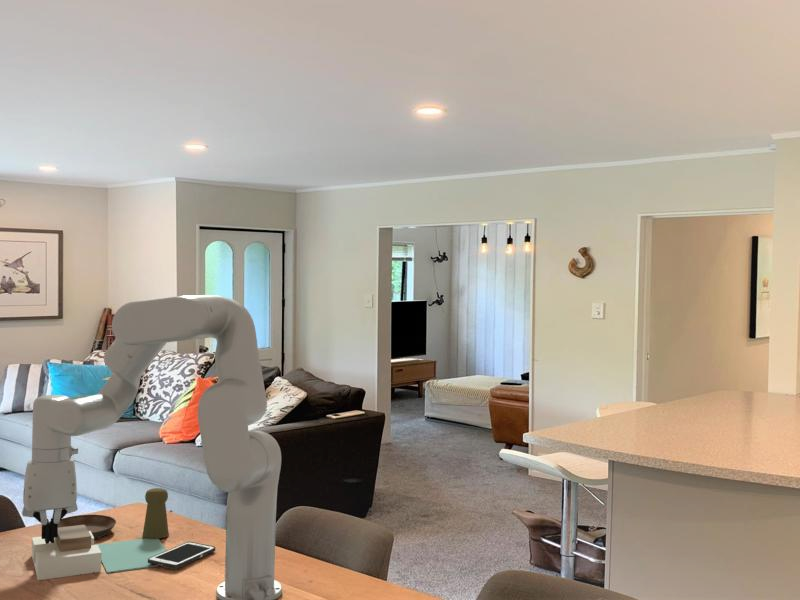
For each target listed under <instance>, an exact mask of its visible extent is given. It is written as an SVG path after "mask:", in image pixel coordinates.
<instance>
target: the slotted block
mask: <svg viewBox="0 0 800 600" xmlns="http://www.w3.org/2000/svg"><path fill="white" fill-rule="evenodd" d="M89 533H90V535H91V548H87V549H80V550H72V551H64V552H60V550H59V548H58V545H57V543H56V541H55V538H54V543H48V544H46V543H45V539H42V537H41V536H35V537H31V559H32V563H33V566H34V567H33V568H34V571H35V575H36V578H37V581H43V580H50V579H57V578H66V577H72V576H80V574H81V575H86V574H87V575H88V574H93V572H94V573H101V572H102V561H101V551H100V549H99V547H98V545H96V544H95V539H94V537H93V535H92V533H91V531H89Z"/></svg>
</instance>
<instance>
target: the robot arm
mask: <svg viewBox="0 0 800 600" xmlns="http://www.w3.org/2000/svg"><path fill="white" fill-rule="evenodd" d="M111 330H112V334H113V335H114V337H115V339H114V340H113V342H111V345H110V346H109V347H108V348H107V350H105V352H104V355H103V361H104V364H105V366H106V367H107V368H108V370H109V371H111V373H110V374H111V375H110V377H109V378H108V380H107V381H106V382H105V383H104V385H103V386H102V388H101V389H100V390H99V391H98V392H97V393H96V394H92V395H88V396H87V395H86V396H82V397H79V398H73V399H72V398H70V397H69V396H67V395H61V394H49V395H41V396H38V397H36V398H35V399H34V401H33V404H32V429H31V430H32V435H31V436H32V437H31V438H32V440H31V460H28V461H27V464H26V468H25V474H24V480H23V481H24V482H23V497H22V500H23V502H22V503H23V507H22V511H21V515H22V516H23V517H28V518H35V520H37V521H38V522H39V523H40V524H41V534H40V535H41V536H40V537H42V539H45V543H46V544H48V543H54V538H55V537H57V536H58V523H59V522H60V520H61V519H63V518H65V516H66V515H67V514H71V513H74V512H76V511H78V505H77V500H78V498H77V497H78V493H77V492H78V491H77V490H78V489H77V473H76V465H75V459H74V458H72V456H74V455H78V454H79V448H78V447H75V446H72V437H78V436H79V437H80V436H82V435H86V434H89V433H90V434H91V433H93V432H96V431H97V432H98V431H100V430H105V429H108V428H110V427H112V426H114V425H115V424H116V422H117V421H119V420H120V418H122V416H123V415H124V414H125V412H126V411H127V410H128V409H129V408H130V406H131V405H132V403H133V402H134V401H135V399H136V397H137V395H138V391H139V387H140V382H141V377H142V376H143V375H144V372H145V371H146V370H147V369H148V368H149V366H150V365H151V363H152V362H153V361H154V360H155V358H156V357H157V355H158V354H159V353H161V351H162V350H163V348H164V347H165V346H166V345H167V343H174V342H183V341H184V342H186V341H195V340H202V339H210V338H212V339H215V340H216V346H215V352H214V357H215V358H214V361H215V367H216V375H217V382H215V383H212V385H209V386H208V387H207V388H206V389H205V390H204V391H203V392H202V394H201V397H200V399H199V401H198V408H197V421H198V429H199V435H200V441H201V448H202V454H203V459H204V467H205V470H206V474H207V475H208V478H209V479H210V481H211V483H212V484H213V485H214V486H215V487H216V488H217V489H219V490H221V491H222V492H226V493H228V494H227V501H226V520H225V521H226V522H225V560H224V561H225V567H224V568H225V569H224V581H223V582H221V583H220V584H219V585H218V586H217V587H216V590H215V593H216V597H217V599H219V600H277V599H278V598H279V597H280V596H281V595H282V594H283V592H282V591H283V585H282V584H281V583H280V582H279V581H278V580H276V579H275V564H276V563H275V560H276V556H275V555H276V525H277V524H276V521H277V520H276V518H277V499H278V487H279V486H278V485H279V480H280V473H281V469H282V468H281V467H282V451H281V447H280V445H279V443H278V441H277V440H276V439H275V438H274V436H272V434H270V433H268V432H265V431H262V430H252V431H249V426H251V425H254V424H255V423H257V422H259V421H260V420H261V419H263V417H264V416H265V414H266V412H267V408H268V407H267V406H268V404H267V401H268V400H267V396H266V395H267V394H266V393H267V392H266V389H265V384H264V383H265V382H264V377H263V371H262V369H263V368H262V363H261V360H260V354H259V347H258V340H257V339H258V338H257V333H256V326H255V322H254V320H253V316H252V315H251V313H250V312H249V311H248V309H247V308H246V307H245V306H244V305H243V304H241V302H238V301H237V300H235V299H233V298H230V297H227V296H222V295H215V294H214V295H213V294H200V295H199V294H198V295H178V296H171V297H163V298H162V297H161V298H156V299H147V300H137V301H130V302H129V301H128V302H127V303H125V304H123V305H121V306H120V307H119V308H118V309H117V310H116V311H115V313H114V315H113V317H112V321H111ZM49 510H50V511H52V510H53V512H52V517H51V518H50V521H49V518H48V515H47V511H49Z"/></svg>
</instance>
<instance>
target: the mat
mask: <svg viewBox="0 0 800 600" xmlns="http://www.w3.org/2000/svg"><path fill="white" fill-rule="evenodd" d="M95 545H98V547H99V549H100V551H101V564H102V563H103V564H102V565H104V566H103V567H105V568H104V570H105V569H106V570H105V572H106V574H111V572H114V573H118V572H117V571H121V572H126V571H125V570H128V571H135V570H141V569H147V567H148V569H149V567H150V568H155V567H156V566H157V567H159V566H158V565H153V564H149V563H148V559H149V558H150V557H153V556H155V555H157V554H160V553H162V552H165V551H167V550H168V549H167V548H166V547H165V545H164V544H163V543H162V542H161V540H160V538H158V539H148V538H138V539H130V540H121V541H115V542H114V541H113V542H105V543H96V544H95ZM134 569H135V570H134Z"/></svg>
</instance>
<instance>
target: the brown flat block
mask: <svg viewBox="0 0 800 600" xmlns="http://www.w3.org/2000/svg"><path fill="white" fill-rule="evenodd" d="M55 541H56V543H57V545H58V548H59V550H60V552H64V551H72V550H80V549H87V548H91V535H90V533H89V531H88V530H87V528H86V526H85V525H77V526H68V527H60V528H58V536H57V537H55Z"/></svg>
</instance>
